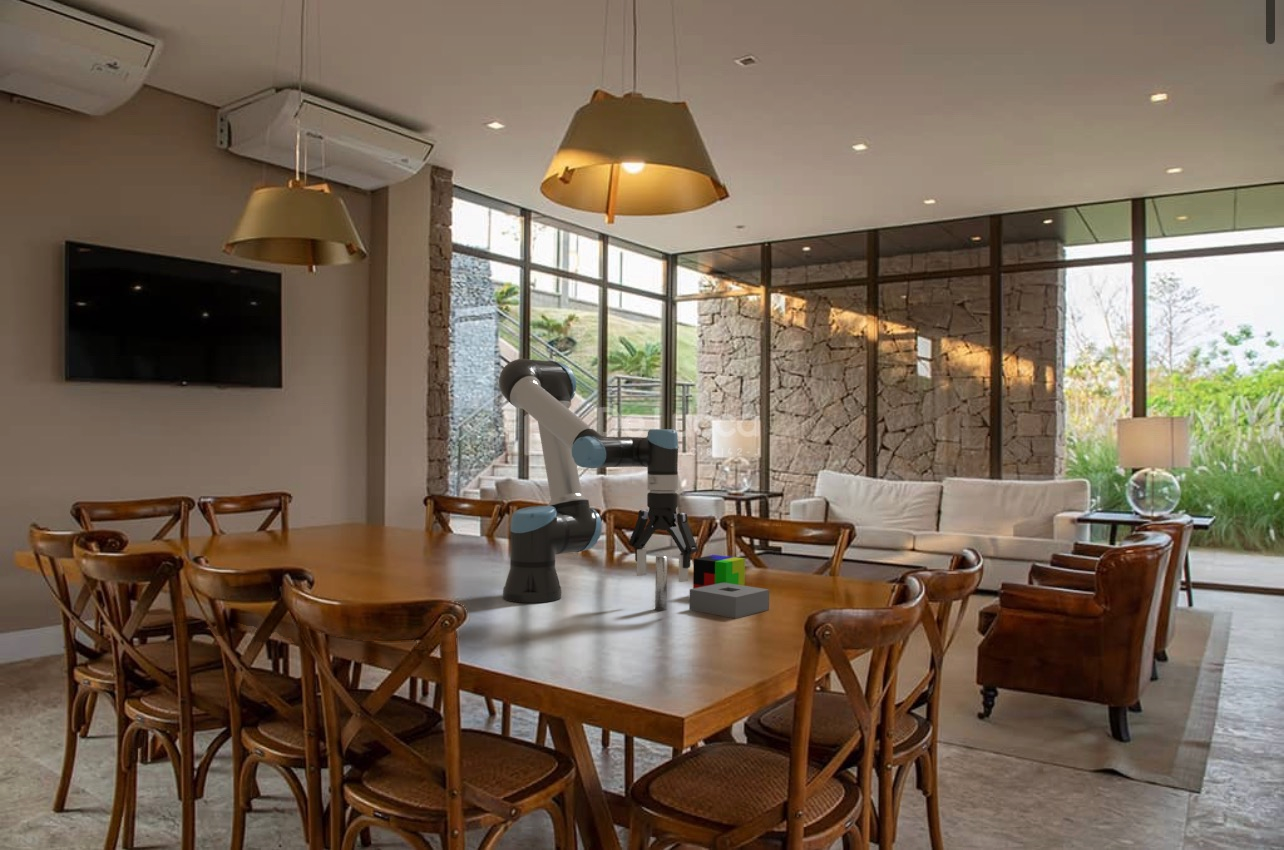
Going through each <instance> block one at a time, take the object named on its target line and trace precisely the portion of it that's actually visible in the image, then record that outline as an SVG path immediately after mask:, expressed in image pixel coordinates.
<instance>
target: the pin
mask: <svg viewBox="0 0 1284 850" xmlns="http://www.w3.org/2000/svg"><path fill="white" fill-rule="evenodd" d="M654 585H655V588H654V590H655V591H654V593H655V595H654V597H655V599H654V600H655V602H654V603H655V605H654V610H655V611H660V612H661V611H662V612H663V611H667V603H668V602H667V597H668V596H667V595H668V590H667V588H668V556H667V555H657V556H655V584H654Z"/></svg>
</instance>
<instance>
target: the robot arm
mask: <svg viewBox="0 0 1284 850" xmlns="http://www.w3.org/2000/svg"><path fill="white" fill-rule="evenodd" d="M498 385H499V391H500V392H501V394H502V396H503V397H504V399H505V400H506V401H507V402H508V403H510V404H511V405H512V406H513V407H515V408H516V409H523V410H524V411H525V412H526V413H527V414H528V415H530V416H531V417H532V418H533V419H534V420H535V421H537V426H538V430H539V431H538V432H539V437H540V443H541V448H542V454H543V460H544V467H545V472H546V477H547V483H548V489H549V497H550V501H549V502H548V503H547V505H533V506H528V507H526V506H525V507H523V508H519V509H517V510H515V511H514V512H513V513H512V514H511V518H510V519H511V520H510V527H509V530H510V556H509V558H510V559H509V561H510V564H509V565H510V567H509V570H508V573H507V577H506V582H505V584H504V587H503V588H502V589H503V590H502V599H504V600H506V601H508V602H513V603H515V602H516V603H524V604H525V603H530V604H531V603H532V604H535V603H548V602H553V601H558V600H560V599H561V598H562V586H561V585H560V580H559V576H558V573H557V570H556V555H559V554H569V553H571V554H572V553H580V552H584V551H588V550H590V549H592V548H594V547H595V545H596V544H597V543H598V540H599V539H600V537H601V536H602V535H601V534H602V530H603V529H602V528H603V527H602V523H603V522H602V518H601V516H600V514H599V513H598V512H597V510H595V509H594V508H592V507H590V506H591V505H590V501H589V499H588V497H586V496H584V495H583V493H582V488H581V482H580V476H579V472H578V471H579V470H578V467H581V468H587V469H599V468H629V467H630V468H631V467H633V468H639V467H641V468H647V470H646V471H647V490H648V491H649V492H648V493H647V497H646V503H647V504H646V506H647V507H648V509H641V510H638V513H637V514H638V515H637V516H638V517H637V520H636V523H635V526H634V529H633V530H632V533H631V536H630V538H629V541H628V545H629V546H630V547H632V548H634V551H635V552H634V560H635V562H636V576H638V577H641V576H646V575H647V548H646V544H647V543H648V542H649V540H650V539H651V537H652V536H653V534H654V533H655V531H656V530H658V531H659V530H660V531H666V532H667V533H669V535H670V536H671V538H672V540H673V541H674V543H675V545H676V546H677V549H679V551H680V554H678V582H679V583H685V582H688V581H689V568H691V557H692V554H694V553H697V552H698V546H697V543H696V540H695V538H694V536H693V532H692V530H691V527H690V525H689V522H688V514H687V512H678V513H677V508H678V505H679V504H678V503H679V500H678V499H679V494H678V493H677V492H676V491H678V490H679V474H678V473H679V471H678V467H679V466H678V464H679V448H680V447H679V446H680V445H679V438H678V436H679V435H678V432H677V430H675V429H672V428H671V429H669V428H667V429H664V428H663V429H660V428H658V429H655V428H654V429H648V431H647V436H645V437H644V436H643V437H641V436H603V435H602V434H600V433H598V431H596V430H595V429H594V428H592V427H591V426H590V425H589V424H588V423H586V422H585V421H584V420H583V419H582V418H580V417H579V416H578V415H577V414H576V413H574V412H573V411H572V410H570V407H571V406H572V400H573V399H574V397H575V395H576V392H575V391H576V390H577V379H576V376H575V373H574V372H573V370H572V369H571V368H570V367H569V366H568V365H567V364H565V363H562V362H559V361H554V360H541V359H540V360H539V359H528V358H517V359H513V360H511V361H510V362H508V363H506V365H505V366H504V367H503V368H502V370H501V372H500V374H499V377H498ZM648 520H649V521H648Z"/></svg>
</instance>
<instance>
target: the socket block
mask: <svg viewBox="0 0 1284 850" xmlns="http://www.w3.org/2000/svg"><path fill="white" fill-rule="evenodd" d="M690 610H691V611H695V612H701V613H704V614H705V613H706V614H712V615H715V616H721V617H726V618H731V619H739V618H744V617H746V616H750V615H755V614H758V613H763V612H766V611H769V610H770V589H767V588H762V587H761V588H760V587H756V586H755V587H754V586H749V585H745V586H743V585H737V584H730V583H719V584H714V585H709V586H704V587H699V588H694V589H693V588H689V611H690Z"/></svg>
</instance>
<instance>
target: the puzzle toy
mask: <svg viewBox="0 0 1284 850" xmlns="http://www.w3.org/2000/svg"><path fill="white" fill-rule="evenodd" d="M745 570H746V558H745V557H736V556H735V557H734V556H728V555H727V556H726V555H718V554H717V555H716V554H711V555H705V556H701V557H696V558H693V573H692V574H693V575H692V576H693V577H692V578H693V579H692V580H693V582H692V585H693V586H692V589H694V588H699V587H704V586H709V585H714V584H719V583H730V584H737V585H743V586H746V585H745V581H746V580H745V579H746V578H745V577H746V576H745V575H746V574H745V573H746V571H745Z"/></svg>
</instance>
